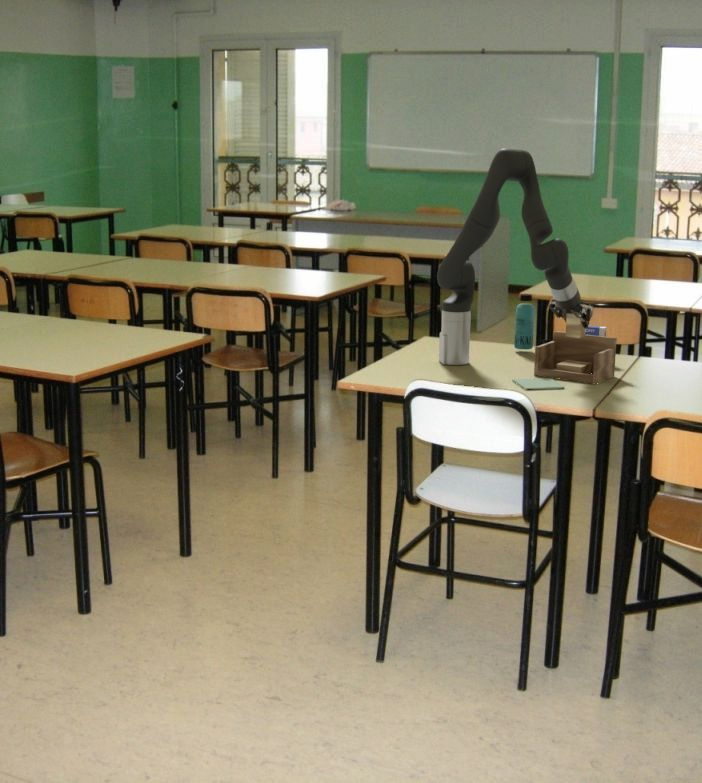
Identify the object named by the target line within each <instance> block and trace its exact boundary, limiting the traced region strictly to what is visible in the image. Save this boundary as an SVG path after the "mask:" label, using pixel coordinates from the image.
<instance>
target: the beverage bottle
mask: <svg viewBox="0 0 702 783" xmlns="http://www.w3.org/2000/svg"><path fill="white" fill-rule="evenodd" d="M519 301H521V302H525V303H519V304H518V305H517V306H516V308H515V309H516V310H515V311H516V312H515V326H514V342H513V344H514V345H513V346H514V348H515V349H517V350H531V349H533V346H534V345H533V344H534V337H535V334H534V330H535V326H534V324H535V309H536V307H535V306H534V305H533V304H532V303H526V302H532V301H533V295H532V294H530V293H522V294H520V295H519Z"/></svg>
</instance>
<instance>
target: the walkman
mask: <svg viewBox="0 0 702 783" xmlns="http://www.w3.org/2000/svg"><path fill="white" fill-rule="evenodd" d="M607 329H608V328H607V326H598V325H597V326H596V325H595V326H593V325H588V327H587V328H586V331H585V334H586V335H595V336H603V337H607Z"/></svg>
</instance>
